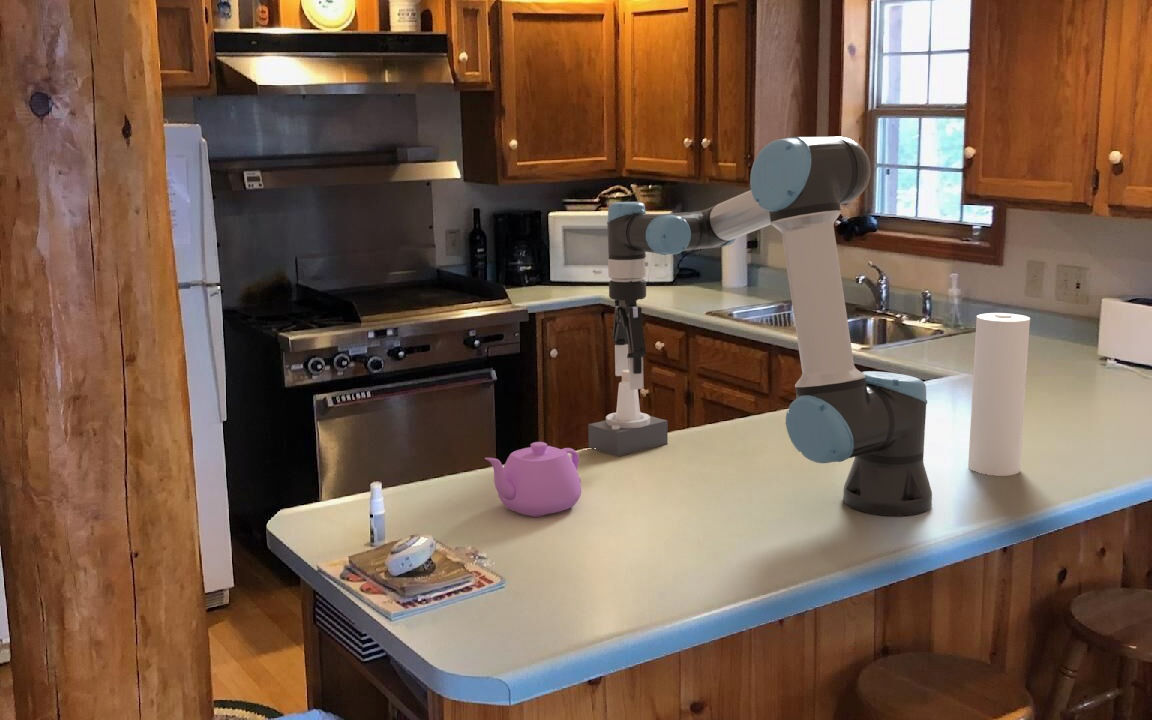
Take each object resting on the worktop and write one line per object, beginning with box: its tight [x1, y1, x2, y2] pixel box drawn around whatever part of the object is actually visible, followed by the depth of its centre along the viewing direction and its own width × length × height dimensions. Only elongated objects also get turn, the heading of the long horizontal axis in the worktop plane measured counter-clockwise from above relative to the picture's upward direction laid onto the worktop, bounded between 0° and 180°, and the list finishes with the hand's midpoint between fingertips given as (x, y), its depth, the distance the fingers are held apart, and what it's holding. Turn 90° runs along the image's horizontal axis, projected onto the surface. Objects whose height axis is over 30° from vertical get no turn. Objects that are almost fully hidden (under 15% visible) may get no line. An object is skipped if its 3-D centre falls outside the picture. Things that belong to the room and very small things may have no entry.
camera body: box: [587, 411, 669, 458], centre depth 247 cm, size 14×9×6 cm, turn 130°
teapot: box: [484, 441, 582, 518], centre depth 208 cm, size 20×13×12 cm, turn 128°
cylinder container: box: [967, 312, 1031, 477], centre depth 226 cm, size 9×9×30 cm
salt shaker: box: [615, 370, 641, 421], centre depth 245 cm, size 5×5×11 cm
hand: (629, 382), depth 245 cm, fingers open, 13 cm apart
